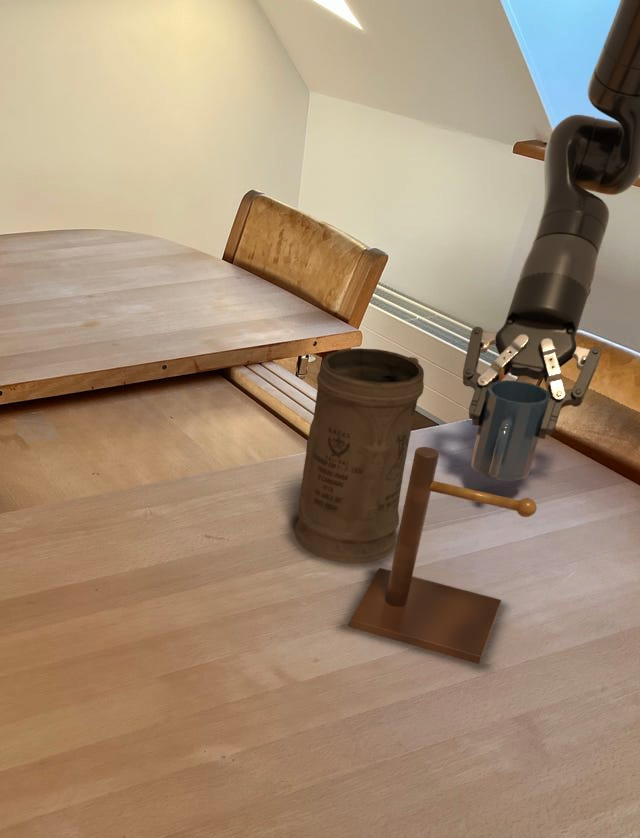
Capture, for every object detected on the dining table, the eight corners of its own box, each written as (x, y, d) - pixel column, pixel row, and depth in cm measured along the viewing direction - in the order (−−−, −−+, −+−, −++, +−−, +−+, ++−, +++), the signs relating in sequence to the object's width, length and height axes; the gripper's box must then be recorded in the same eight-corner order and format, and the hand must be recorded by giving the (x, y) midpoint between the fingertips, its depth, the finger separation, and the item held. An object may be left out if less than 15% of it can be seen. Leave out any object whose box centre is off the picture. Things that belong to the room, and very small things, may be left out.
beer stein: (372, 583, 97) (413, 388, 86) (274, 552, 101) (302, 363, 90) (417, 526, 108) (459, 348, 97) (328, 500, 112) (358, 327, 101)
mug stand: (506, 614, 93) (554, 453, 83) (486, 672, 86) (536, 504, 76) (376, 580, 98) (407, 422, 87) (347, 632, 90) (377, 467, 80)
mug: (476, 450, 113) (494, 376, 107) (533, 462, 111) (553, 387, 105) (458, 486, 106) (476, 408, 100) (518, 499, 104) (539, 420, 98)
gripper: (486, 261, 105) (441, 402, 104) (627, 280, 101) (581, 429, 99) (485, 296, 112) (443, 429, 111) (616, 317, 108) (573, 456, 106)
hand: (508, 428), depth 105 cm, fingers closed on mug, 6 cm apart
